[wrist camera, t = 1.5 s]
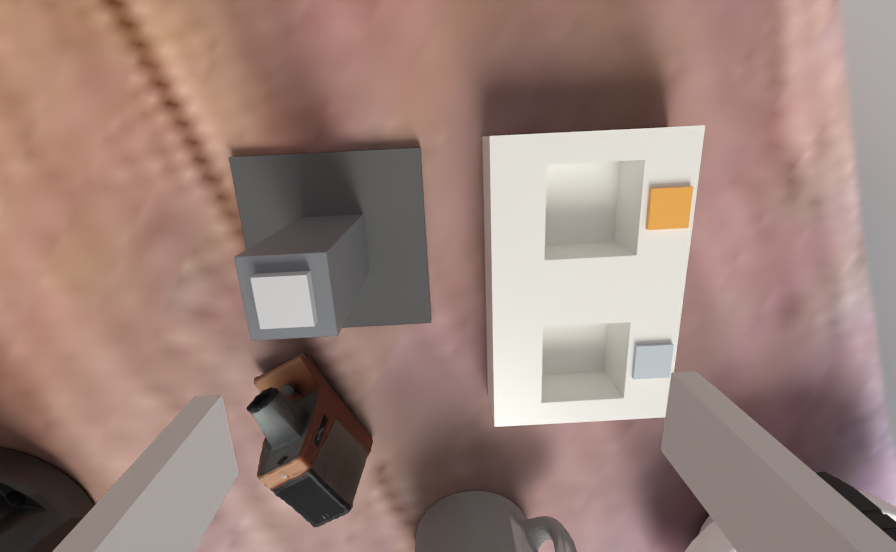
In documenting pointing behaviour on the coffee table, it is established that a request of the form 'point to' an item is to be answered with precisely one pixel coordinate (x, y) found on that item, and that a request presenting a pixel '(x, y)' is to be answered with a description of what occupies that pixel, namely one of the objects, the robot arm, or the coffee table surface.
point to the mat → (349, 193)
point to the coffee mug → (486, 526)
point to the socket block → (586, 270)
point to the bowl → (715, 548)
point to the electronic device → (308, 441)
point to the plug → (304, 277)
